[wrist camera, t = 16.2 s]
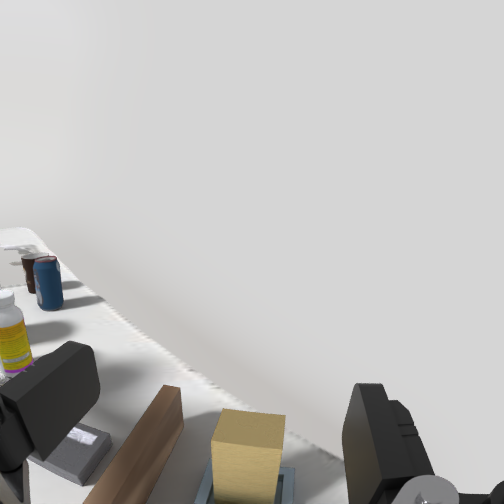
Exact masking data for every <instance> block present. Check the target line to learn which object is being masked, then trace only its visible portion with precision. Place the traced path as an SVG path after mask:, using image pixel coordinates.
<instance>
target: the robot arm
mask: <svg viewBox="0 0 504 504" xmlns="http://www.w3.org/2000/svg"><path fill="white" fill-rule="evenodd" d="M99 395H100V383H99V378H98V373H97V368H96V363H95V357H94V352H93V349H92V348H91V347H90V346H89V345H85V344H81V343H78V342H74V341H68V342H66V343H65V344H63V345H62V346H61V347H59V348H58V349H56V350H55V351H54V352H52V353H49V354H47V355H44V356H42V357H40V358H39V359H38V360H36V361H35V362H34V363H32V365H30V366H28V367H27V368H25V369H24V371H21V372H20V373H19V374H17V375H16V376H15V377H13V378H12V379H11V380H9V381H8V382H7V383H5V384H4V385H3V386H1V387H0V504H31V501H30V486H29V465H28V462H27V460H26V458H27V457H28V456H29V455H31V456H33V457H34V458H36V459H38V460H40V461H42V462H44V461H45V460H46V459H47V458H48V456H49V455H50V454H51V453H52V452H53V451H54V450H55V448H56V447H57V446H58V445H59V444H60V443H61V442H62V440H63V439H64V438H65V437H66V436H67V435H68V434H69V433H70V431H71V430H72V429H73V428H74V427H75V426H76V425H77V423H78V422H79V421H80V420H81V419H82V418H83V417H84V416H85V414H86V413H87V412H88V411H89V410H90V409H91V408H92V407H93V405H94V404H95V403H96V402H97V400H98V398H99ZM342 446H343V454H344V463H345V471H346V480H347V489H348V499H349V504H504V481H502V482H500V483H499V484H498V485H497V486H496V487H495V488H494V489H493V491H492V492H491V493H490V494H463V493H458V492H457V490H456V488H455V487H454V485H453V484H452V483H450V482H449V481H448V480H446V479H444V478H442V477H439V476H435V474H434V471H433V469H432V466H431V463H430V461H429V458H428V456H427V453H426V451H425V448H424V446H423V443H422V441H421V438H420V437H419V436H418V431H417V429H416V426H414V422H413V419H412V417H411V414H410V412H409V410H407V409H406V408H405V407H404V406H403V405H402V404H401V403H400V402H399V401H398V400H388V397H387V394H386V392H385V389H384V387H383V385H382V384H368V383H367V384H366V383H363V384H362V383H356V384H355V386H354V388H353V392H352V396H351V399H350V403H349V407H348V411H347V414H346V417H345V421H344V425H343V431H342Z"/></svg>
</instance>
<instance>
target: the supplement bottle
mask: <svg viewBox="0 0 504 504" xmlns="http://www.w3.org/2000/svg"><path fill="white" fill-rule="evenodd" d="M14 300H15V298H14V292H13V291H10V290H0V371H1V373H2V374H3V375H5V376H7V377H11V378H13V377H15V376H16V375H17V374H19V373H20V372H21V371H24V369H25V368H27V367H28V366H30V365H32V363H34V361H33V357H32V353H31V349H30V345H29V341H28V336H27V332H26V327H25V322H24V317H23V313H22V311H21V309H20V308H18V307H17V306H15V305H14Z"/></svg>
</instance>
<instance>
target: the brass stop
mask: <svg viewBox="0 0 504 504" xmlns="http://www.w3.org/2000/svg"><path fill="white" fill-rule="evenodd" d="M284 427H285V415H276V414H265V413H256V412H247V411H239V410H231V409H224V408H223V409H222V412H221V415H220V417H219V420H218V423H217V426H216V428H215V431H214V434H213V436H212V439H211V452H212V470H213V486H214V501H215V504H273V503H274V498H275V492H276V486H277V480H278V474H279V468H280V462H281V455H282V448H283V438H284Z"/></svg>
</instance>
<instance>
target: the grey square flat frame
mask: <svg viewBox="0 0 504 504" xmlns="http://www.w3.org/2000/svg"><path fill="white" fill-rule="evenodd" d="M111 446H112V441H111V437H110V434H109V433H106V432H103V431H100V430H97V429H95V428H92V427H89V426H86V425H84V424H81V423H77V425H76V426H75V427H74V428H73V429H72V430H71V431H70V433H69V434H68V435H67V436H66V437H65V438H64V439H63V440H62V442H61V443H60V444H59V445H58V446H57V447H56V448H55V450H54V451H53V452H52V453H51V454H50V455H49V456H48V458H47V459H46V460H45V461H44V462H42V461H40V460H38V459H36V458H34V457H33V456H31V455H29V456H28V457H27V459H29V460H31V461H33V462H34V463H36V464H38V465H40V466H42V467H44V468H45V469H47V470H49V471H51V472H53V473H55V474H57V475H59V476H61V477H63V478H65V479H67V480H69V481H71V482H74V483H76V484H78V485H80V486H83V485H84V483H85V482H86V480H87V479H88V478H89V476H90V475H91V474H92V472H93V471H94V469H95V468H96V467H97V465H98V464H99V462H100V461H101V460H102V458H103V457H104V455H105V454H106V453H107V451H108V450H109V449H110V447H111Z"/></svg>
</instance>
